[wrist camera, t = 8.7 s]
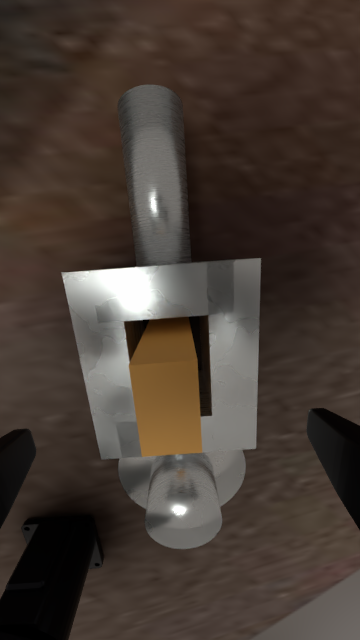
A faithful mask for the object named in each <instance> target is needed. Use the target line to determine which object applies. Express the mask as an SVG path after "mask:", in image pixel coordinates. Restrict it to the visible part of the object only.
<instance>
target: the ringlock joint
mask: <svg viewBox="0 0 360 640" xmlns="http://www.w3.org/2000/svg"><path fill="white" fill-rule="evenodd" d="M118 115H119V124H120V132H121V140H122V149H123V157H124V165H125V173H126V182H127V190H128V198H129V206H130V215H131V223H132V231H133V239H134V248H135V256H136V264H137V266H134V267H120V268H107V269H95V270H86V271H76V272H66V273H62V277H63V281H64V286H65V291H66V295H67V300H68V305H69V310H70V314H71V319H72V324H73V329H74V333H75V338H76V343H77V347H78V352H79V357H80V362H81V366H82V371H83V376H84V380H85V385H86V390H87V395H88V399H89V404H90V409H91V413H92V418H93V423H94V428H95V432H96V437H97V442H98V446H99V451H100V456H101V459H115V458H120V459H119V464H118V472H119V478H120V482H121V484H122V486H123V488H124V490H125V491H126V493H127V494H128V495H129V496H130V498H131V499H132V500H134V501H135V502H136V503H137V504H138V505H140V506H141V507H143V508H145V509H146V515H145V527H146V530H147V532H148V534H149V535H150V536H151V537H152V538H153V539H154V540H155V541H156V542H158V543H160V544H162V545H164V546H167V547H170V548H175V549H189V548H195V547H198V546H201V545H203V544H205V543H207V542H209V541H210V540H212V539H213V538H214V537H215V536H216V535H217V534H218V532H219V530H220V528H221V525H222V515H221V510H220V506H222V505H224V504H225V503H226V502H228V501H229V500H230V499H231V498H232V497H233V496H234V495H235V493H236V492H237V491H238V489H239V488H240V486H241V484H242V482H243V479H244V476H245V469H246V464H245V457H244V454H243V451H242V450H244V449H256V427H257V389H258V352H259V314H260V276H261V258H251V259H228V260H214V261H201V262H191V247H190V229H189V211H188V193H187V175H186V157H185V139H184V121H183V104H182V101H181V99H180V97H179V96H178V95H177V94H176V93H175V92H173V91H172V90H170V89H168V88H166V87H163V86H158V85H141V86H137V87H134V88H132V89H130V90H128V91H127V92H125V93H124V94H123V95H122V96H121V98H120V99H119V102H118ZM188 316H199V323H200V343H201V363H202V370H200V371H198V379H199V398H200V417H201V436H202V453H190V454H176V455H161V456H146V457H142V454H141V447H140V440H139V433H138V426H137V419H136V413H135V406H134V399H133V392H132V385H131V378H130V371H129V363H130V361H131V359H132V357H133V355H134V352H135V350H136V348H137V346H138V344H139V342H140V340H141V337H142V335H143V333H144V325H143V320H147V319H161V318H175V317H188Z"/></svg>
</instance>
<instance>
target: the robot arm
mask: <svg viewBox="0 0 360 640" xmlns="http://www.w3.org/2000/svg"><path fill="white" fill-rule="evenodd" d="M307 435H308V438H309V440H310V442H311V444H312V446H313V448H314V450H315V452H316V454H317V456H318V458H319V460H320V462H321V464H322V466H323V468H324V469H325V471H326V473H327V475H328V477H329V479H330V481H331V483H332V485H333V487H334V489H335V491H336V492H337V494H338V496H339V497H340V499H341V501H342V502H343V504H344V506H345V507H346V509H347V510H348V512H349V514H350V515H351V517H352V518H353V520H354V522H355V523H356V525H357V527H358V528H359V530H360V426H359V425H357V424H355V423H353V422H351V421H349V420H347V419H345V418H343V417H341V416H339V415H337V414H335V413H333V412H331V411H329V410H327V409H324V408H314V409H310V410H309V412H308V420H307ZM35 455H36V447H35V443H34V440H33V437H32V434H31V431H30V430H29V429H16V430H13V431H11V432H10V433H8V434H6V435H4V436H3V437H1V438H0V528H1V526H2V525H3V523H4V521H5V519H6V517H7V515H8V513H9V511H10V509H11V507H12V505H13V503H14V501H15V499H16V497H17V495H18V492H19V490H20V488H21V486H22V484H23V482H24V480H25V477H26V475H27V473H28V471H29V469H30V467H31V465H32V462H33V460H34V458H35ZM21 529H22V532H23V535H24V537H25V540H26V543H27V547H26V549H25V551H24V552H23V554H22V556H21V558H20V560H19V562H18V564H17V566H16V568H15V570H14V571H13V573H12V575H11V577H10V579H9V581H8V583H7V585H6V589H5V591H4V593H3V595H2V597H1V599H0V640H68V639H69V635H70V632H71V628H72V625H73V621H74V618H75V615H76V611H77V608H78V604H79V601H80V597H81V594H82V590H83V587H84V583H85V580H86V576H87V573H88V569H92V568H100V567H102V565H103V560H104V559H103V554H102V550H101V546H100V542H99V538H98V534H97V530H96V526H95V522H94V519H93V517H91V516H79V517H64V518H50V519H35V520H26V521H25V522H24V524H23V526H22V528H21Z"/></svg>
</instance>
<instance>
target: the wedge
mask: <svg viewBox="0 0 360 640" xmlns="http://www.w3.org/2000/svg"><path fill="white" fill-rule="evenodd" d="M129 371H130V378H131V385H132V392H133V399H134V406H135V413H136V419H137V426H138V433H139V440H140V447H141V454H142V457H146V456H161V455H176V454H190V453H202V436H201V417H200V398H199V379H198V360H197V355H196V351H195V346H194V341H193V336H192V331H191V327H190V322H189V317H175V318H161V319H150V320H149V322H148V324H147V327H146V329H145V331H144V333H143V335H142V337H141V340H140V342H139V344H138V346H137V348H136V350H135V352H134V355H133V357H132V359H131V361H130V363H129Z"/></svg>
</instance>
